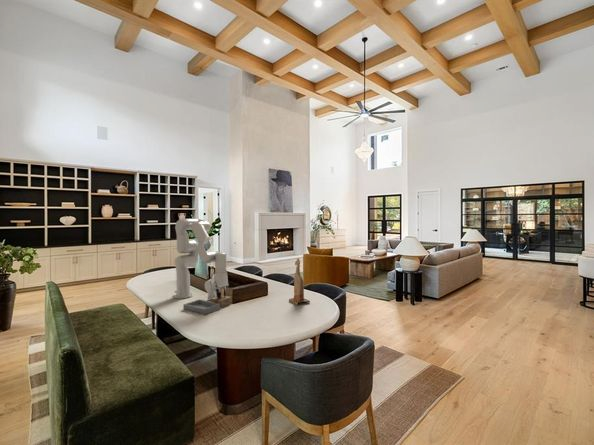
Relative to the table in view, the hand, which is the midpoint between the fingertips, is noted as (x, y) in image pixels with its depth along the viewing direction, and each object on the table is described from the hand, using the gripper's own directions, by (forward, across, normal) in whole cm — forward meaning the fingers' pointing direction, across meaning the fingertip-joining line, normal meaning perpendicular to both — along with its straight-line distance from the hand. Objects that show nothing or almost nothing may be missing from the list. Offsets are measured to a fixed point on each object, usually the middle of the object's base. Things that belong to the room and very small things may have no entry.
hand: (221, 296), depth 201 cm
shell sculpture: (+6, -5, -14) cm, 16 cm away
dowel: (+6, 0, 0) cm, 6 cm away
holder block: (+6, 0, 0) cm, 6 cm away
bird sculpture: (+6, -32, +44) cm, 55 cm away
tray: (+6, +14, -4) cm, 15 cm away
